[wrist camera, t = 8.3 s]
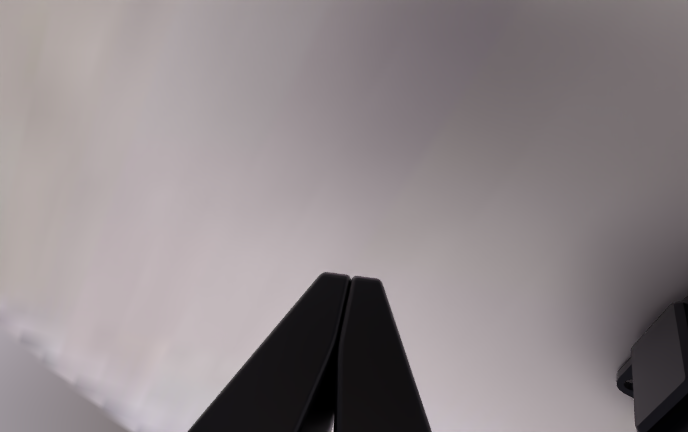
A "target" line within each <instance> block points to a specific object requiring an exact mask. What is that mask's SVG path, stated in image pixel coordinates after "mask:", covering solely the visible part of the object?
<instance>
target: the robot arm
mask: <svg viewBox="0 0 688 432" xmlns="http://www.w3.org/2000/svg"><path fill="white" fill-rule="evenodd" d="M630 379H632V380H633V383H629V382H627V381H626V380H630ZM617 387H618V388H619V390H620V391H622V392H623V393H625V394H627V395H628V396H630V397H632V398H634V412H635V426H636V429H637V432H688V296H687V297H686V298H685V299H684V300H683V301H679V302H675V303H672V304H671V305H670V306H669V307H668V308H667V309H666V311H665V312H664V313H663V314H662V315H661V316H660V317H659V318H658V319H657V320H656V322H655V323H654V324H653V325H652V326H651V327H650V328H649V329H648V330H647V331H646V333H645V334H644V335H643V336H642V337H641V338H640V339H639V340H638V341H637V343H636V344H635V345H634V346H633V347H632V349H631V358H630V359H629V360H628V361H627V362H626V363H625V364H624V366H623V367H622V368H621V369H620V370H619V371H618V373H617ZM333 422H334V432H432V431H431V428H430V425H429V422H428V419H427V416H426V413H425V410H424V407H423V404H422V401H421V398H420V395H419V392H418V389H417V386H416V383H415V380H414V377H413V374H412V371H411V368H410V365H409V362H408V359H407V356H406V353H405V350H404V347H403V344H402V341H401V338H400V335H399V332H398V329H397V326H396V323H395V320H394V317H393V314H392V311H391V308H390V305H389V302H388V299H387V296H386V293H385V290H384V287H383V284H382V282H381V281H380V280H379V279H376V278H369V277H361V276H355V277H353V278H352V280H351V278H350V277H349V276H348V275H345V274H337V273H329V272H324V273H322V274H321V275H319V277H318V278H317V279H316V280H315V281H314V282H313V284H312V285H311V286H310V287H309V288H308V289H307V291H306V292H305V293H304V294H303V295H302V297H301V298H300V299H299V300H298V301H297V302H296V304H295V305H294V306H293V307H292V308H291V310H290V311H289V312H288V313H287V314H286V316H285V317H284V318H283V319H282V320H281V321H280V323H279V324H278V325H277V326H276V327H275V329H274V330H273V331H272V332H271V333H270V335H269V336H268V337H267V338H266V339H265V340H264V342H263V343H262V344H261V345H260V346H259V348H258V349H257V350H256V351H255V352H254V353H253V355H252V356H251V357H250V358H249V359H248V361H247V362H246V363H245V364H244V365H243V367H242V368H241V369H240V370H239V371H238V372H237V374H236V375H235V376H234V377H233V378H232V380H231V381H230V382H229V383H228V384H227V385H226V387H225V388H224V389H223V390H222V391H221V393H220V394H219V395H218V396H217V397H216V399H215V400H214V401H213V402H212V403H211V404H210V406H209V407H208V408H207V409H206V410H205V412H204V413H203V414H202V415H201V416H200V418H199V419H198V420H197V421H196V422H195V423H194V425H193V426H192V427H191V428H190V429H189V431H188V432H331V431H332V427H333Z"/></svg>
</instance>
